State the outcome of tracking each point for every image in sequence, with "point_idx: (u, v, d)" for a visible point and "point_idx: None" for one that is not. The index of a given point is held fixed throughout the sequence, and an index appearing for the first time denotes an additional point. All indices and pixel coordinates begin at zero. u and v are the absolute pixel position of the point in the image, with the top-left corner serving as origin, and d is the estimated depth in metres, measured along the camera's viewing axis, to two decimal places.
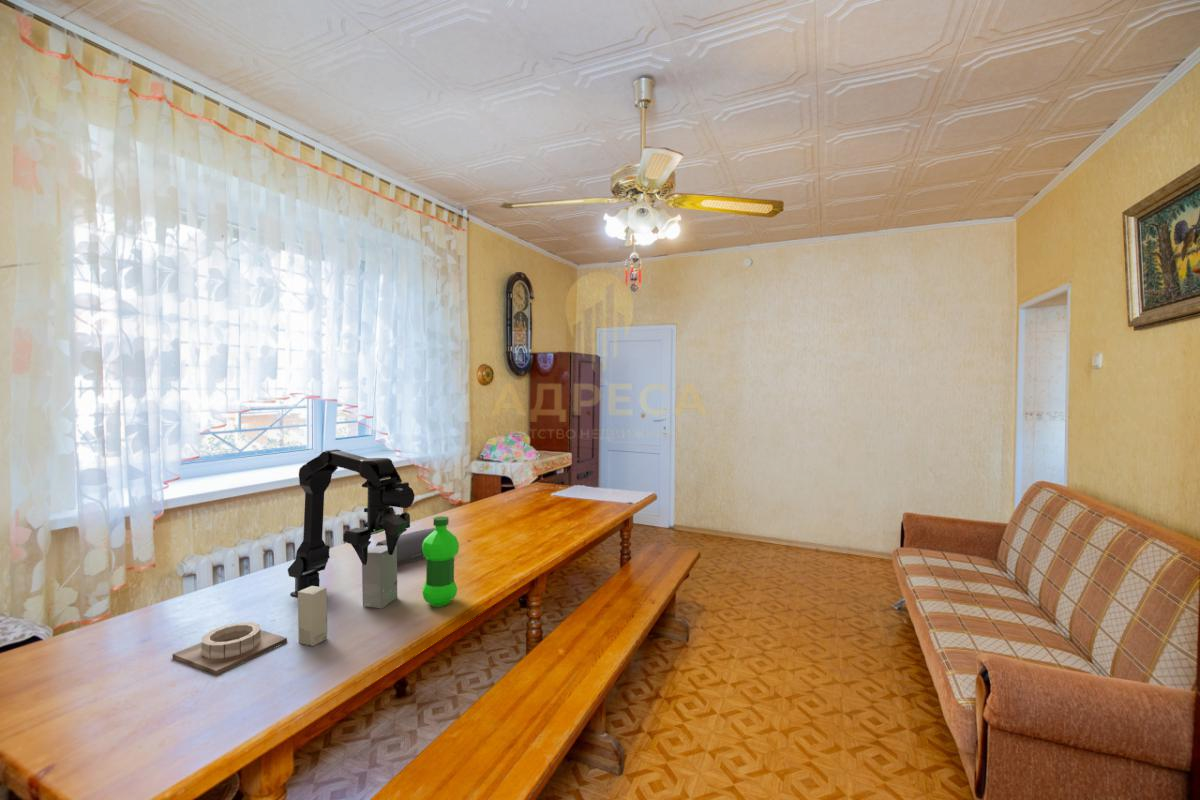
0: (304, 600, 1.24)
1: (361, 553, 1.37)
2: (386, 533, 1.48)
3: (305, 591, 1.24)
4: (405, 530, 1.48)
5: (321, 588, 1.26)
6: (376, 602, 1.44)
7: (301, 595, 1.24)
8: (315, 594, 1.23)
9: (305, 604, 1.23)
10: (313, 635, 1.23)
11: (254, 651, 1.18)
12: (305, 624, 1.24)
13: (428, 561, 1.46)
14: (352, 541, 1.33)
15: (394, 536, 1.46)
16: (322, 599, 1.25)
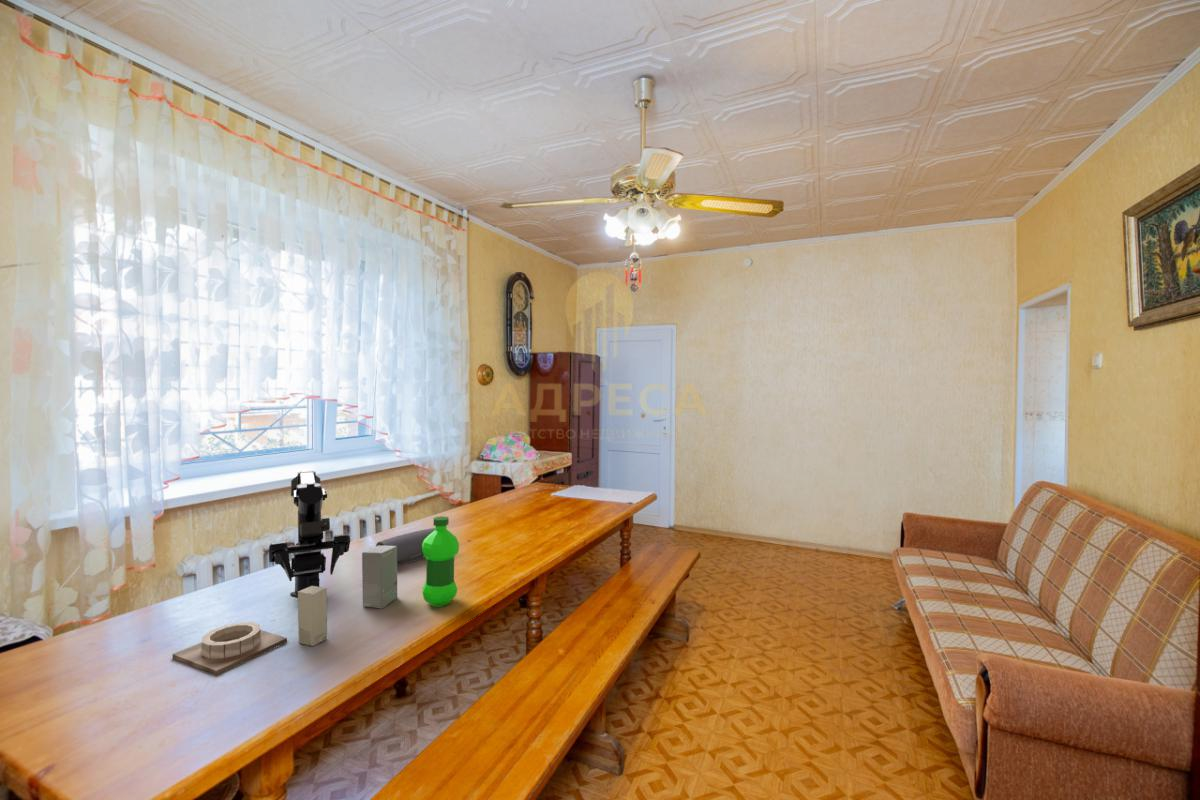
0: (304, 600, 1.24)
1: (285, 568, 1.31)
2: None
3: (305, 591, 1.24)
4: (341, 544, 1.38)
5: (321, 588, 1.26)
6: (376, 602, 1.44)
7: (301, 595, 1.24)
8: (315, 594, 1.23)
9: (305, 604, 1.23)
10: (313, 635, 1.23)
11: (254, 651, 1.18)
12: (305, 624, 1.24)
13: (428, 561, 1.46)
14: (269, 554, 1.31)
15: (332, 553, 1.37)
16: (322, 599, 1.25)
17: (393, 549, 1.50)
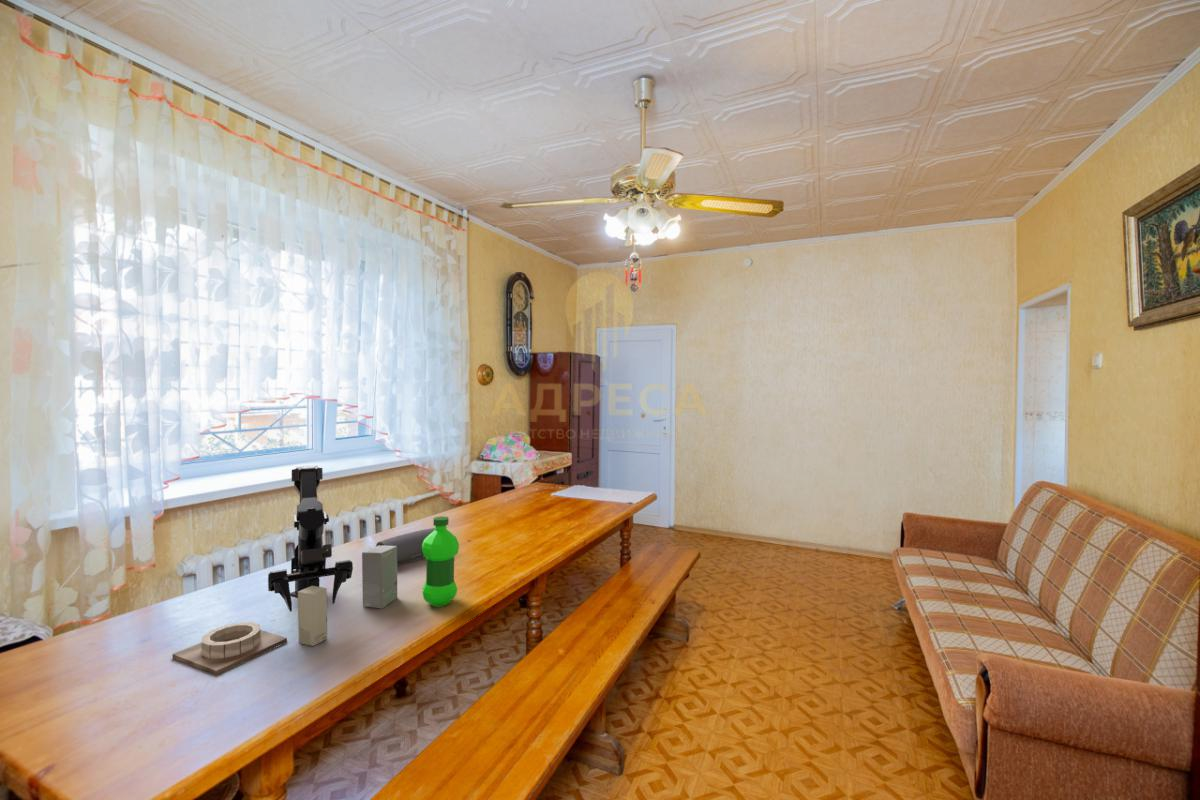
0: (304, 600, 1.24)
1: (285, 598, 1.25)
2: (333, 585, 1.33)
3: (305, 591, 1.24)
4: (344, 571, 1.32)
5: (321, 588, 1.26)
6: (376, 602, 1.44)
7: (301, 595, 1.24)
8: (315, 594, 1.23)
9: (305, 604, 1.23)
10: (313, 635, 1.23)
11: (254, 651, 1.18)
12: (305, 624, 1.24)
13: (428, 561, 1.46)
14: (268, 583, 1.25)
15: (334, 581, 1.31)
16: (322, 599, 1.25)
17: (393, 549, 1.50)
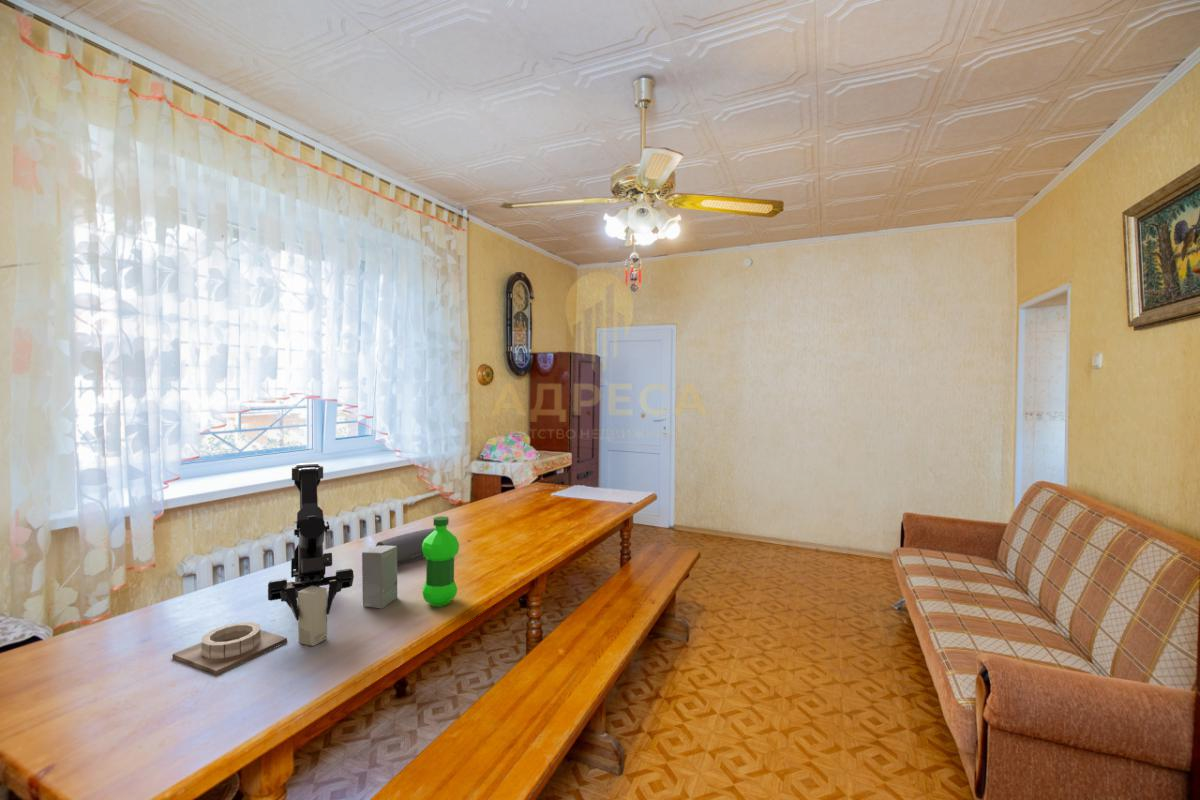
0: (304, 600, 1.24)
1: (292, 606, 1.24)
2: None
3: (305, 591, 1.24)
4: (338, 580, 1.30)
5: (321, 588, 1.26)
6: (376, 602, 1.44)
7: (301, 595, 1.24)
8: (315, 594, 1.23)
9: (305, 604, 1.23)
10: (313, 635, 1.23)
11: (254, 651, 1.18)
12: (305, 624, 1.24)
13: (428, 561, 1.46)
14: (268, 592, 1.24)
15: (328, 591, 1.29)
16: (322, 599, 1.25)
17: (393, 549, 1.50)
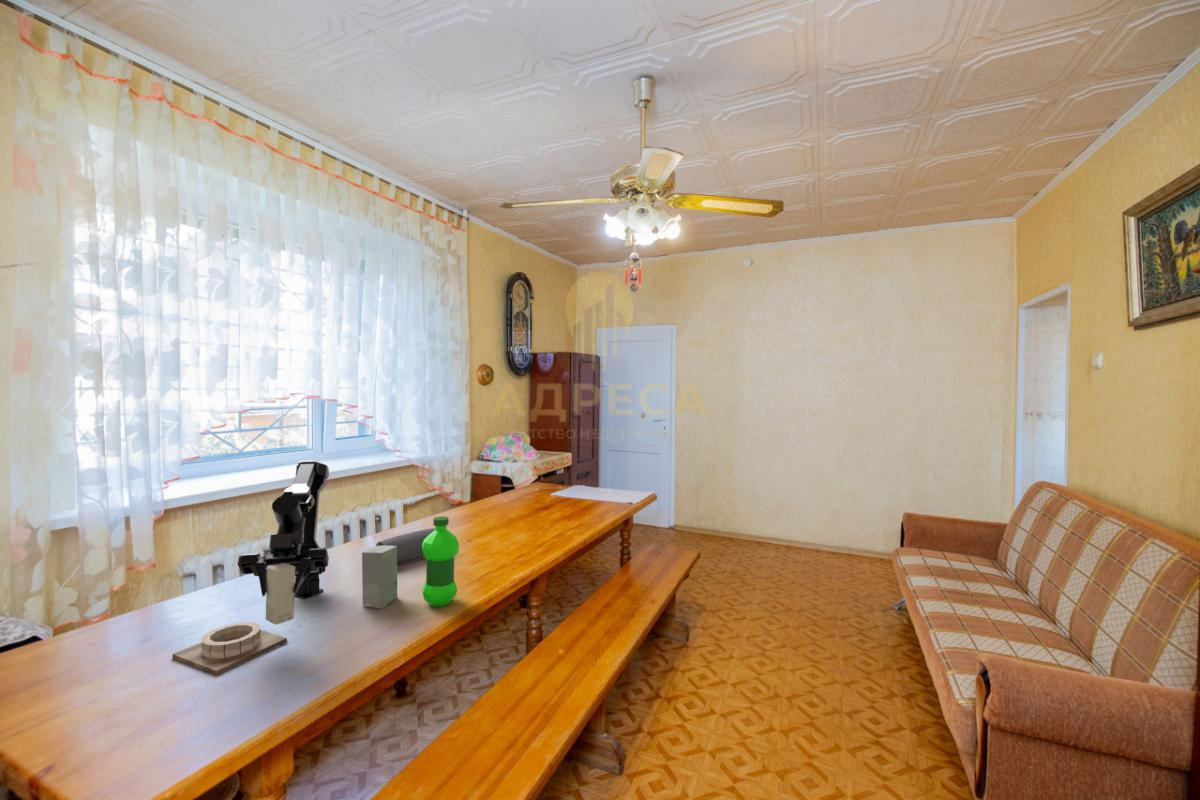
0: (271, 576, 1.21)
1: None
2: None
3: (273, 567, 1.22)
4: (309, 559, 1.26)
5: (290, 566, 1.23)
6: (376, 602, 1.44)
7: (269, 571, 1.21)
8: (280, 572, 1.20)
9: (271, 581, 1.21)
10: (276, 614, 1.20)
11: (254, 651, 1.18)
12: (270, 601, 1.21)
13: (428, 561, 1.46)
14: None
15: None
16: (289, 578, 1.22)
17: (393, 549, 1.50)
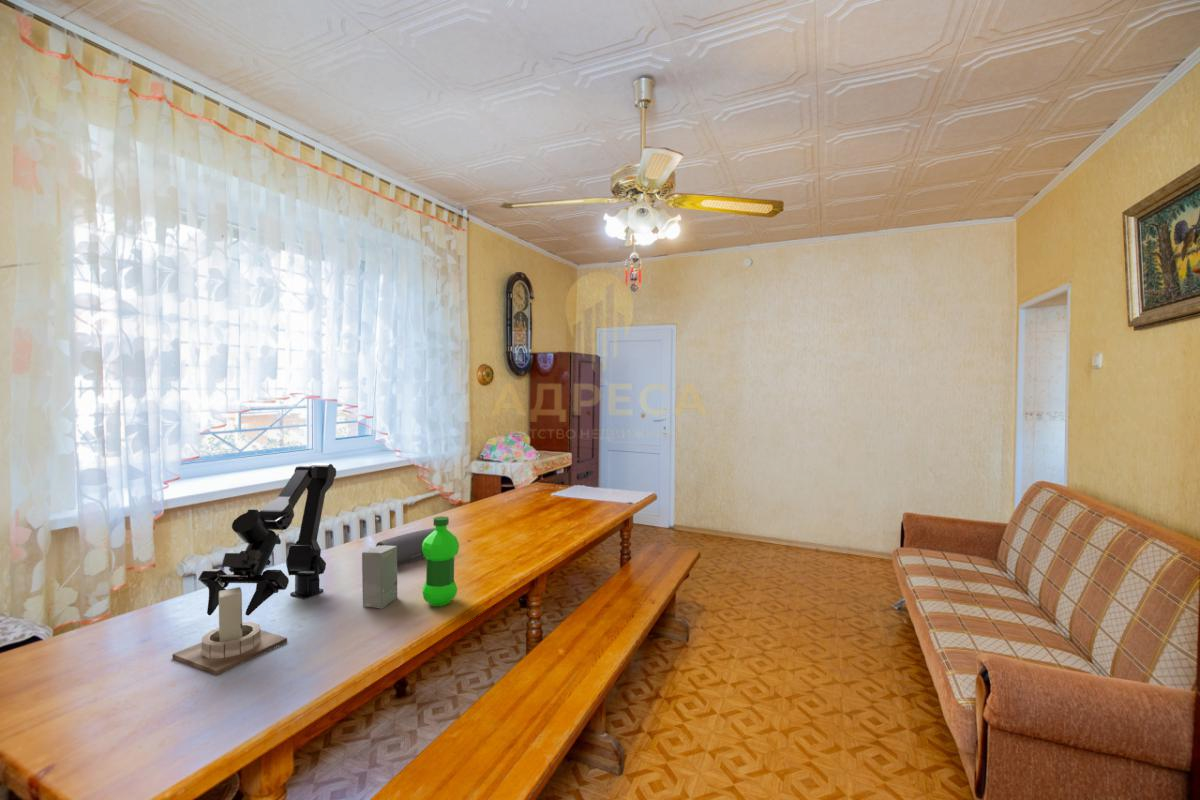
0: None
1: None
2: None
3: (222, 592, 1.20)
4: (265, 581, 1.22)
5: (237, 592, 1.20)
6: (376, 602, 1.44)
7: None
8: (223, 598, 1.18)
9: None
10: (220, 640, 1.18)
11: (254, 651, 1.18)
12: (219, 627, 1.19)
13: (428, 561, 1.46)
14: None
15: None
16: (234, 604, 1.19)
17: (393, 549, 1.50)
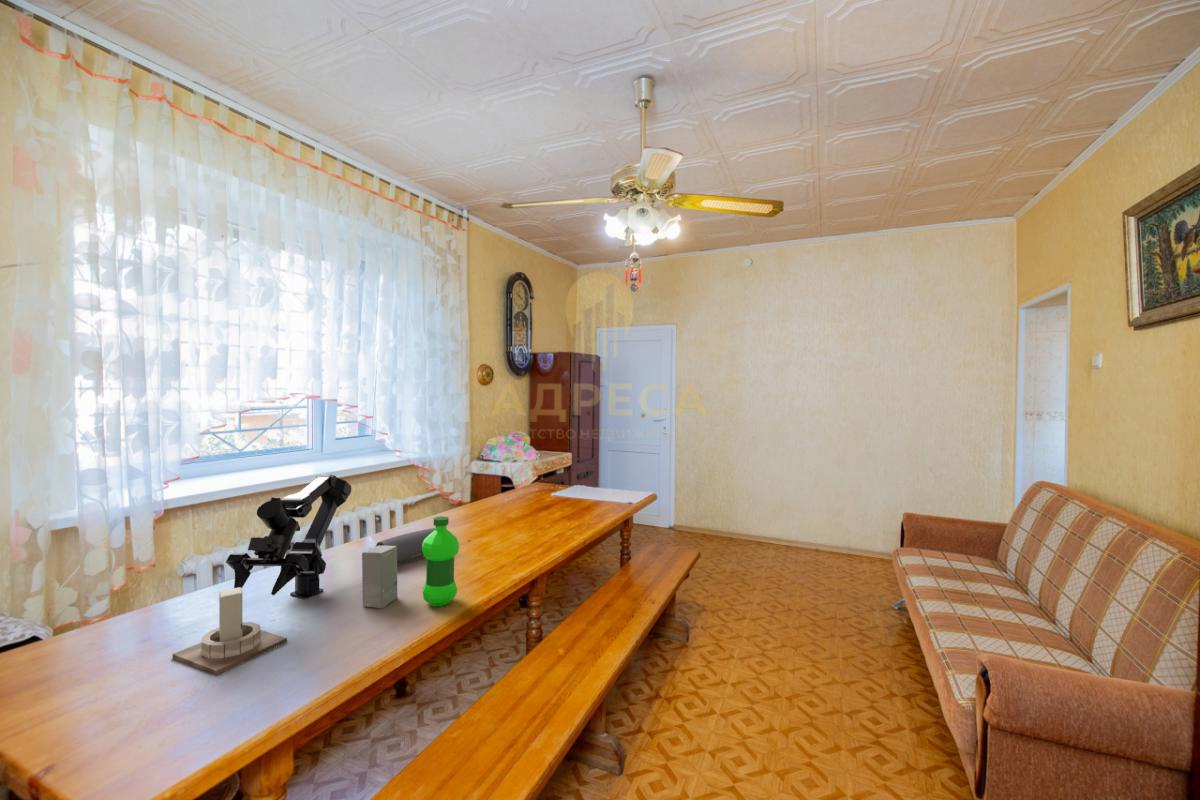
0: (219, 601, 1.19)
1: None
2: None
3: (223, 592, 1.20)
4: (289, 564, 1.31)
5: (238, 592, 1.20)
6: (376, 602, 1.44)
7: (219, 595, 1.20)
8: (224, 598, 1.18)
9: (219, 606, 1.19)
10: (220, 640, 1.18)
11: (254, 651, 1.18)
12: (219, 626, 1.19)
13: (428, 561, 1.46)
14: None
15: None
16: (235, 604, 1.19)
17: (393, 549, 1.50)
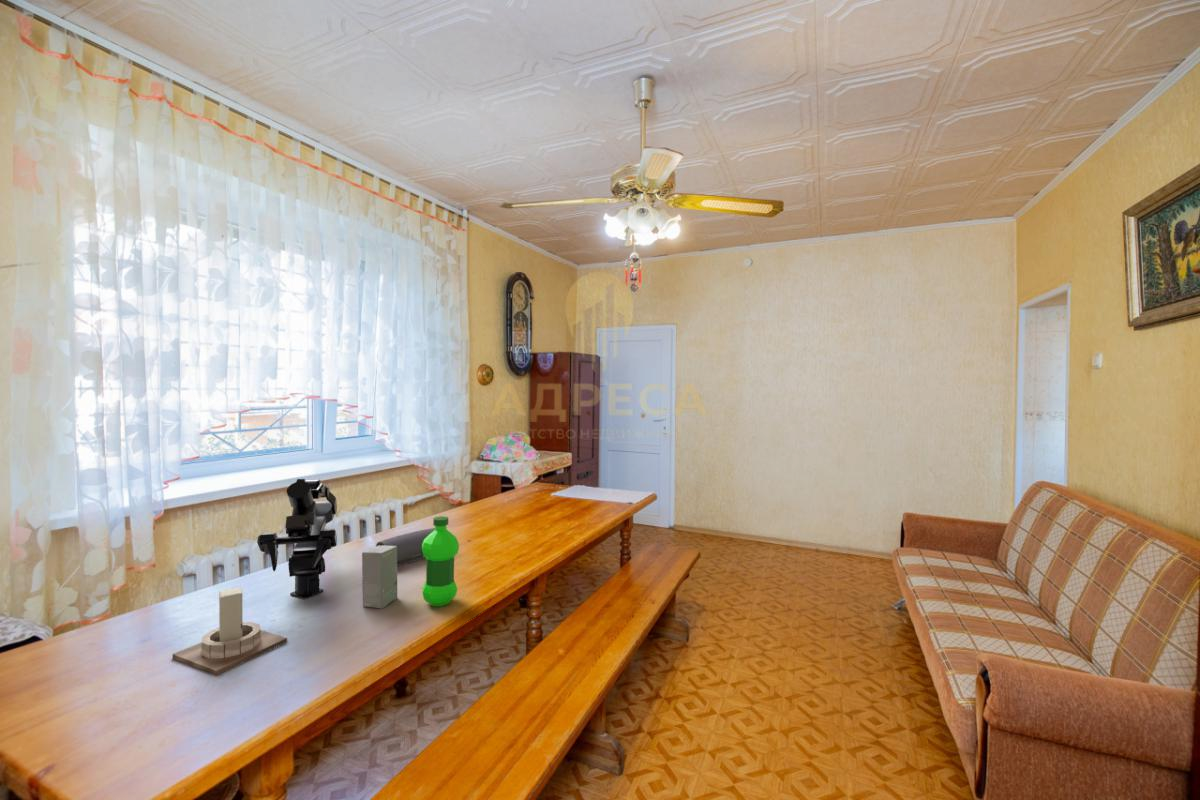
0: (219, 601, 1.19)
1: None
2: None
3: (223, 592, 1.20)
4: (325, 538, 1.42)
5: (238, 592, 1.20)
6: (376, 602, 1.44)
7: (219, 595, 1.20)
8: (224, 598, 1.18)
9: (219, 606, 1.19)
10: (220, 640, 1.18)
11: (254, 651, 1.18)
12: (219, 626, 1.19)
13: (428, 561, 1.46)
14: None
15: None
16: (235, 604, 1.19)
17: (393, 549, 1.50)
